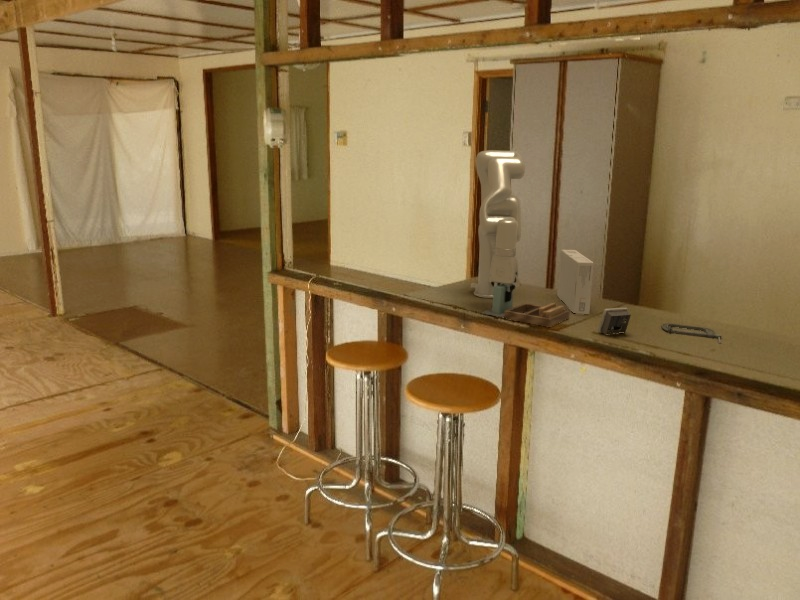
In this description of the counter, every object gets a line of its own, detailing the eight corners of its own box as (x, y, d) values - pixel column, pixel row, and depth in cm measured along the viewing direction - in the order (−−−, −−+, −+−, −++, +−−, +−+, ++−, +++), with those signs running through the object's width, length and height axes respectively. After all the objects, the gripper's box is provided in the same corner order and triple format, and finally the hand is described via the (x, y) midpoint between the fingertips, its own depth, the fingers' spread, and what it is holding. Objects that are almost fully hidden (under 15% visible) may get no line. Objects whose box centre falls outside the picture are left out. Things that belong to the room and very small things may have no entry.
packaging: (589, 314, 255) (594, 262, 251) (573, 314, 255) (577, 262, 251) (571, 296, 285) (575, 249, 280) (557, 296, 285) (560, 249, 280)
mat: (481, 314, 252) (481, 312, 252) (501, 306, 265) (501, 305, 265) (502, 318, 247) (502, 316, 247) (522, 310, 259) (522, 308, 259)
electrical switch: (620, 330, 234) (624, 305, 231) (629, 336, 230) (633, 310, 227) (597, 332, 232) (600, 307, 228) (605, 338, 227) (609, 312, 224)
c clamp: (723, 333, 236) (724, 325, 235) (721, 345, 221) (722, 337, 220) (662, 325, 245) (663, 317, 244) (656, 336, 230) (657, 328, 230)
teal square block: (492, 312, 253) (493, 286, 250) (505, 307, 261) (506, 282, 258) (499, 313, 251) (500, 287, 249) (512, 308, 259) (513, 283, 256)
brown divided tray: (503, 318, 246) (504, 311, 246) (524, 310, 259) (525, 303, 258) (549, 327, 236) (550, 319, 235) (569, 318, 248) (569, 310, 248)
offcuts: (537, 323, 241) (538, 308, 240) (551, 317, 250) (552, 302, 249) (548, 325, 238) (550, 310, 237) (563, 319, 248) (564, 304, 246)
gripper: (481, 251, 252) (478, 298, 257) (520, 256, 243) (517, 305, 247) (491, 249, 258) (488, 295, 263) (530, 254, 249) (527, 302, 253)
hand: (502, 299), depth 255 cm, fingers open, 3 cm apart
